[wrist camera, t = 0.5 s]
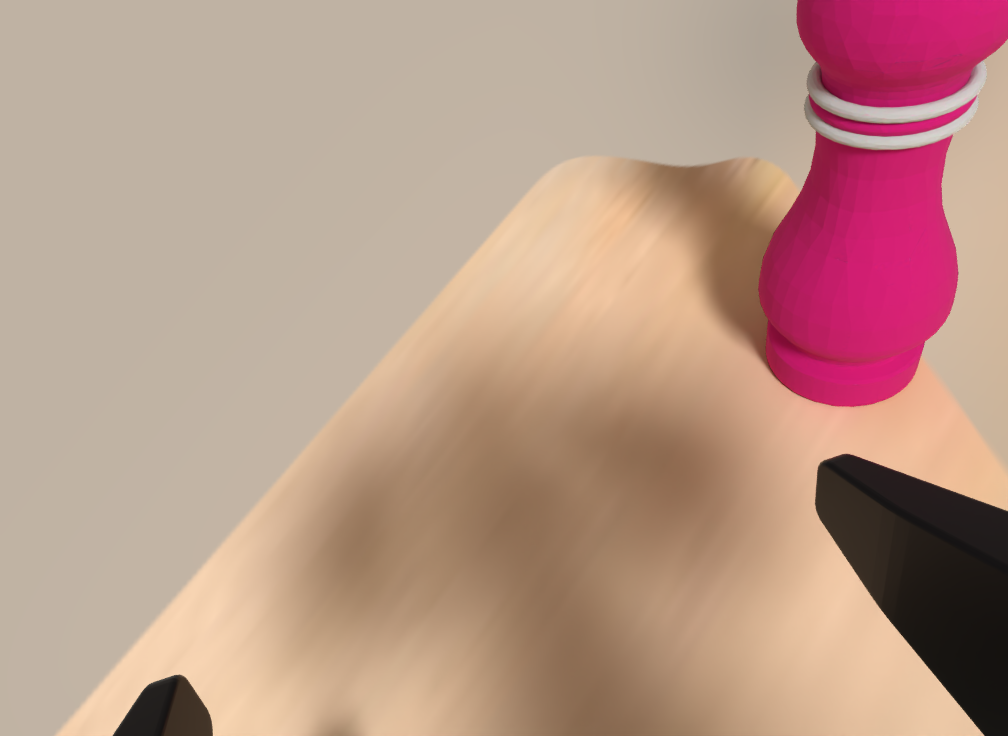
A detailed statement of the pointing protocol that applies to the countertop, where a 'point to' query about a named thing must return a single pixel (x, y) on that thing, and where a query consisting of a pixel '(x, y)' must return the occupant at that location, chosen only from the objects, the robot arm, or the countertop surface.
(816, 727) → the countertop surface
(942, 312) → the pepper mill
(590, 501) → the countertop surface
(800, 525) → the countertop surface
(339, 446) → the countertop surface
